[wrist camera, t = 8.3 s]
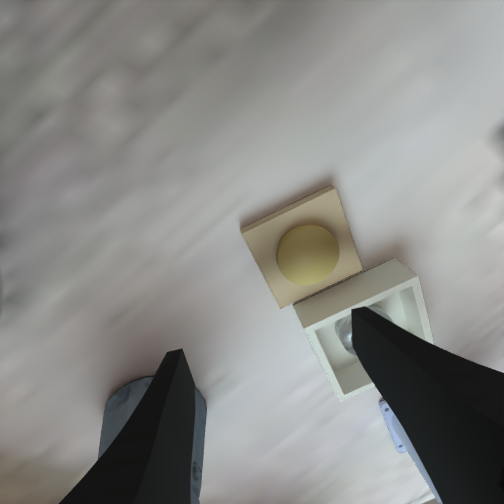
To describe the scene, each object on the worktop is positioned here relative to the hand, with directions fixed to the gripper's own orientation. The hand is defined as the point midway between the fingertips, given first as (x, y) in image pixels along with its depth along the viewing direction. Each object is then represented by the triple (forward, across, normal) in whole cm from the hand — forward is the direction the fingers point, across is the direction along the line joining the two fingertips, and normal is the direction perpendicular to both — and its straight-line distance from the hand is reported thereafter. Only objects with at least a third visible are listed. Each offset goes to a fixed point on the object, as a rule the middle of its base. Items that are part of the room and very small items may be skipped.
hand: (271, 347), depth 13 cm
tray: (+10, -9, +9) cm, 16 cm away
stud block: (+10, -4, +1) cm, 11 cm away
